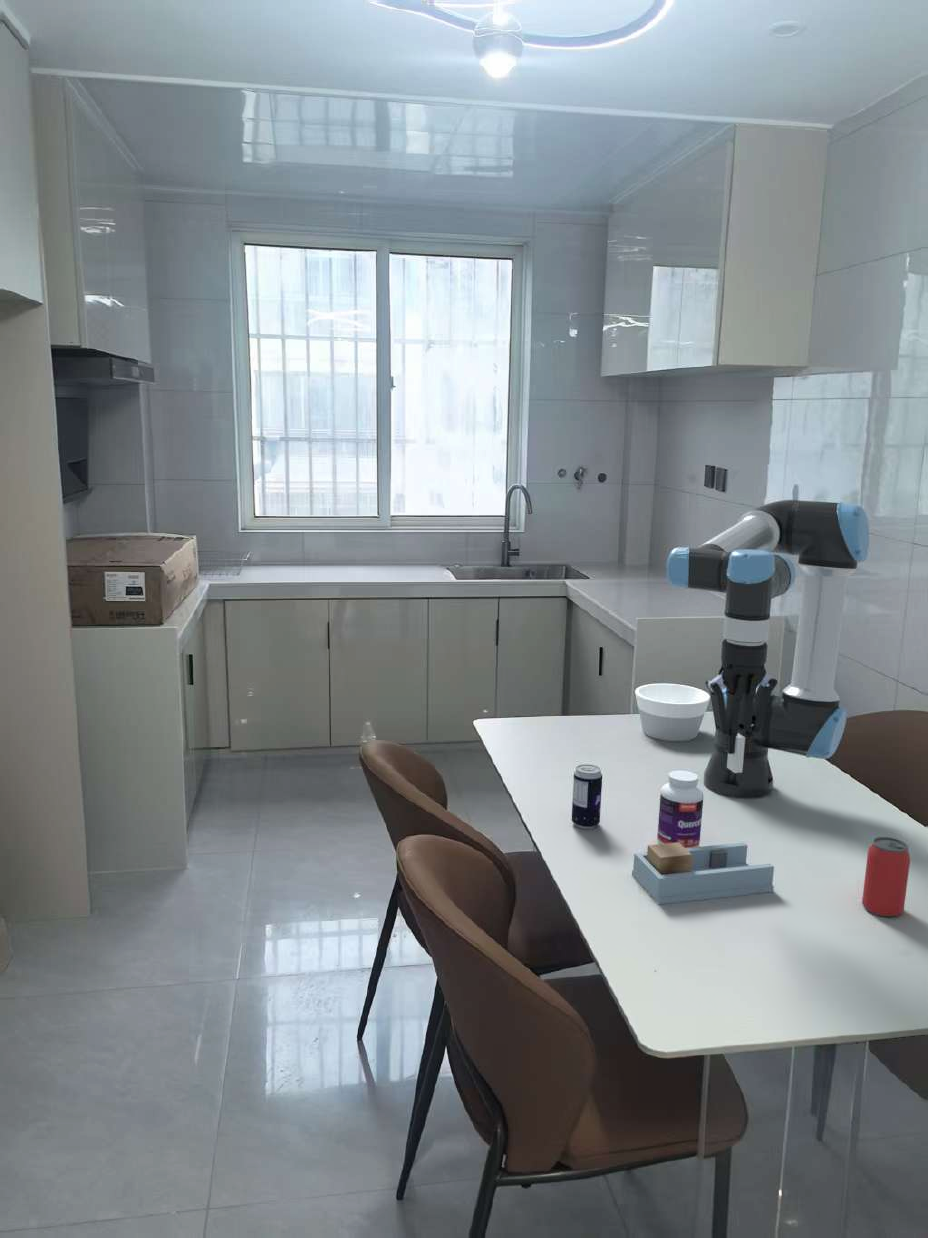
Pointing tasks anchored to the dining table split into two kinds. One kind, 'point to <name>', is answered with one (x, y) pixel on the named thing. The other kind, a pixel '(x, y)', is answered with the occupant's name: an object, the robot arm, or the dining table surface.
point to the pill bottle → (680, 810)
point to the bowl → (671, 710)
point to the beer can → (886, 877)
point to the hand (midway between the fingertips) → (734, 769)
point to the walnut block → (669, 858)
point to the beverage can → (586, 796)
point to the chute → (706, 875)
